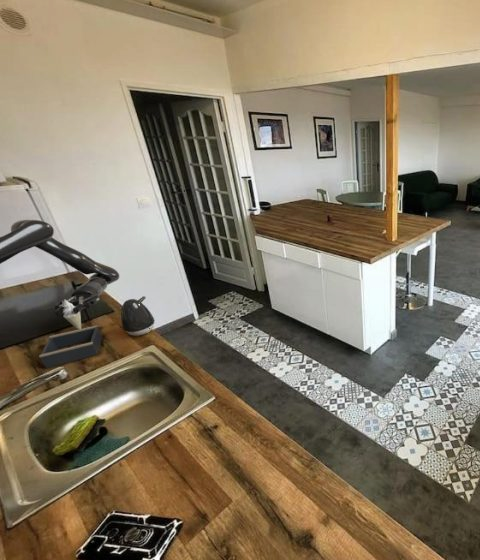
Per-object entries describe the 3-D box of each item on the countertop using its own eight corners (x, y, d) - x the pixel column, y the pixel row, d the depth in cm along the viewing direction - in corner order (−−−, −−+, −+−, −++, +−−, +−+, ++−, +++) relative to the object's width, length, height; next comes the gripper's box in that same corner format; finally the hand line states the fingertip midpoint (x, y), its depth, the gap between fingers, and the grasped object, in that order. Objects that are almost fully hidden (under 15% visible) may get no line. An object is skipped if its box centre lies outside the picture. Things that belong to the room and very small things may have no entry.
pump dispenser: (163, 328, 130) (152, 296, 123) (136, 342, 121) (122, 308, 115) (148, 322, 134) (136, 291, 127) (121, 335, 125) (107, 302, 119)
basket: (46, 368, 107) (39, 356, 105) (55, 347, 117) (49, 336, 115) (97, 354, 114) (91, 343, 112) (102, 336, 124) (97, 325, 122)
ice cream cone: (91, 329, 128) (75, 298, 121) (75, 336, 124) (57, 304, 117) (86, 326, 130) (70, 295, 124) (70, 332, 126) (53, 300, 120)
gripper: (63, 287, 131) (37, 307, 116) (104, 283, 135) (85, 301, 121) (71, 302, 134) (47, 323, 120) (111, 298, 139) (92, 317, 124)
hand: (66, 312), depth 120 cm, fingers closed on ice cream cone, 4 cm apart
